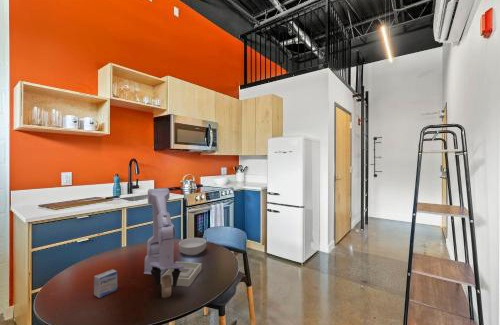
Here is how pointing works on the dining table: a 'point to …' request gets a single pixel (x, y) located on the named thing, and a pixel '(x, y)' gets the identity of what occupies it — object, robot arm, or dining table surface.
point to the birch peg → (166, 286)
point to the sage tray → (185, 273)
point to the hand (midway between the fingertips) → (166, 285)
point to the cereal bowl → (192, 246)
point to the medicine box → (105, 283)
